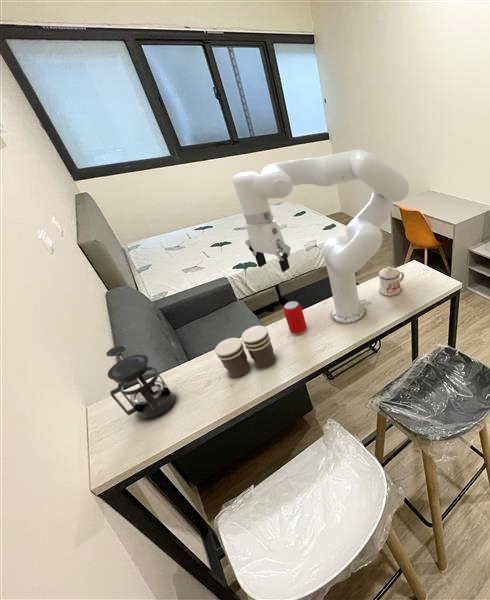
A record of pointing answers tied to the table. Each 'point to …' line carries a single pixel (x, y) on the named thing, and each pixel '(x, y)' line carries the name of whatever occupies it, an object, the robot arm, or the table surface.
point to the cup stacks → (235, 355)
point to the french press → (146, 392)
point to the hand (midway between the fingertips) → (274, 267)
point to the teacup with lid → (390, 281)
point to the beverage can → (295, 317)
